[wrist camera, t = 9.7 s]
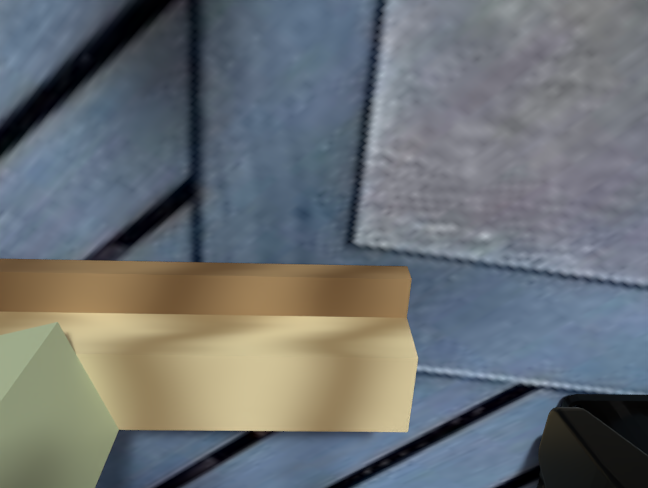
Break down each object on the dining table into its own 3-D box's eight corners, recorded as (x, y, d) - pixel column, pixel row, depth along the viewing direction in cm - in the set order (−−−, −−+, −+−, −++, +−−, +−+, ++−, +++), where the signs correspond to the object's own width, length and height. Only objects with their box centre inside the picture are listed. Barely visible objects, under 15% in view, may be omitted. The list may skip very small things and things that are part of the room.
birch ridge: (407, 266, 21) (423, 316, 18) (391, 401, 25) (403, 464, 21) (-61, 257, 21) (-127, 308, 18) (-17, 398, 24) (-65, 462, 21)
